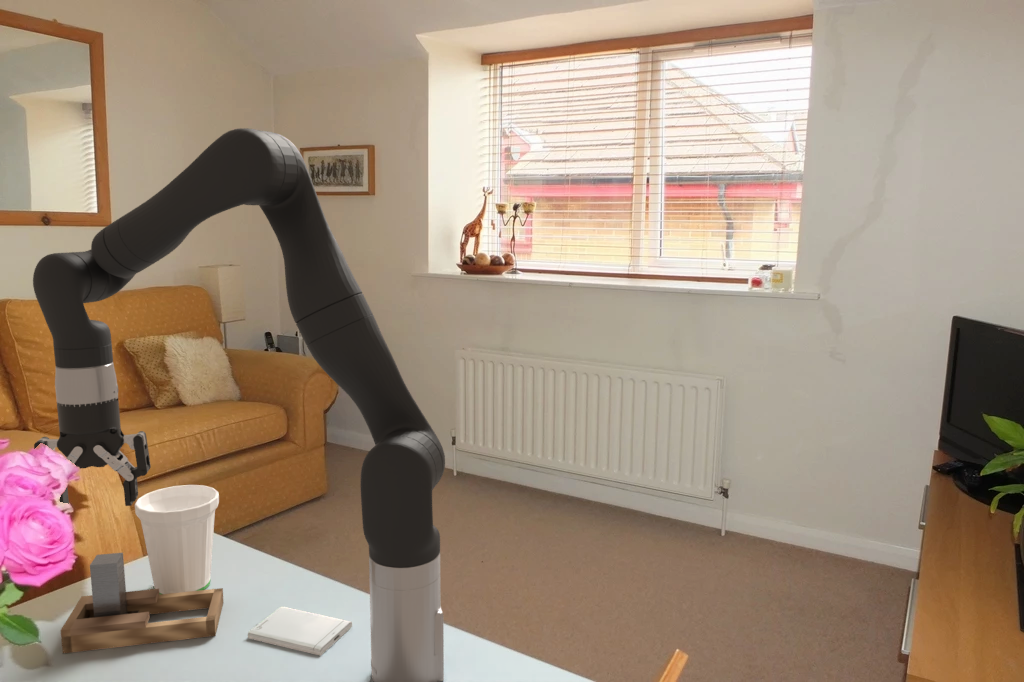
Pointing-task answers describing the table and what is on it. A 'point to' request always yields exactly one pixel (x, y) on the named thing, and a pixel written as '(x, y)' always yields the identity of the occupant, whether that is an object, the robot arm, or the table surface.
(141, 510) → the cup
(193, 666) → the table surface
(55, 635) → the table surface
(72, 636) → the rail
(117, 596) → the t peg
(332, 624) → the hard drive
